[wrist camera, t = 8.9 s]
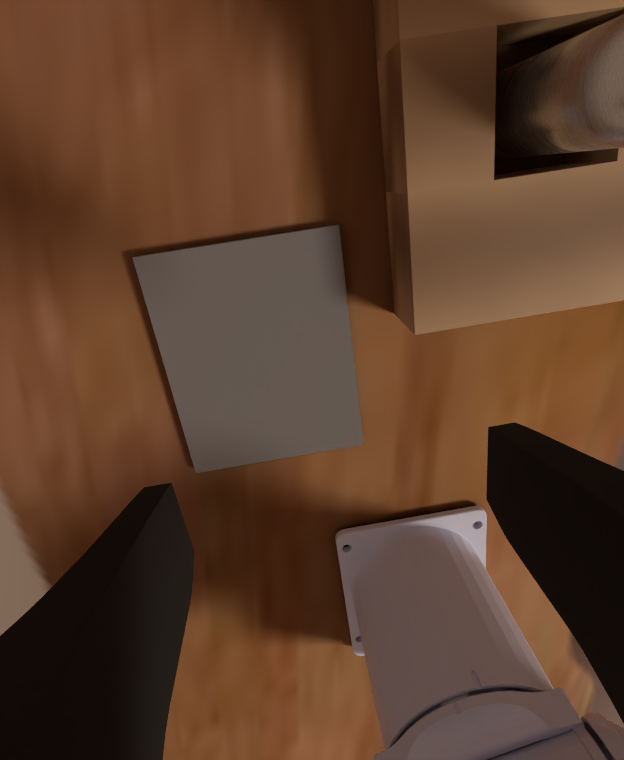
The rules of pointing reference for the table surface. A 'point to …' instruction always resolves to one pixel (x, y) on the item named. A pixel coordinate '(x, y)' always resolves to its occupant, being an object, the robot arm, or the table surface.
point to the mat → (256, 345)
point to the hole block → (486, 172)
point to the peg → (564, 97)
